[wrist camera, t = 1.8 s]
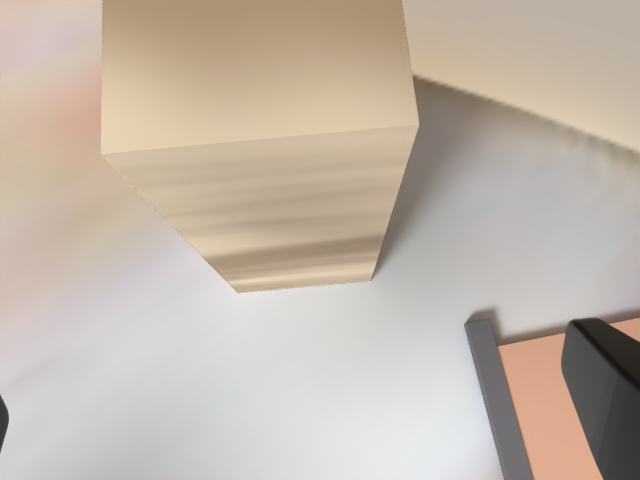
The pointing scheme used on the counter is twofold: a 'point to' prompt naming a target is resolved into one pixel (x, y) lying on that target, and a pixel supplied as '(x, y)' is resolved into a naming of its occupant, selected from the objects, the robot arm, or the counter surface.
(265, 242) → the beech block
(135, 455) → the counter surface
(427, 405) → the counter surface
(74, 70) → the counter surface
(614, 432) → the robot arm
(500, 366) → the mat
